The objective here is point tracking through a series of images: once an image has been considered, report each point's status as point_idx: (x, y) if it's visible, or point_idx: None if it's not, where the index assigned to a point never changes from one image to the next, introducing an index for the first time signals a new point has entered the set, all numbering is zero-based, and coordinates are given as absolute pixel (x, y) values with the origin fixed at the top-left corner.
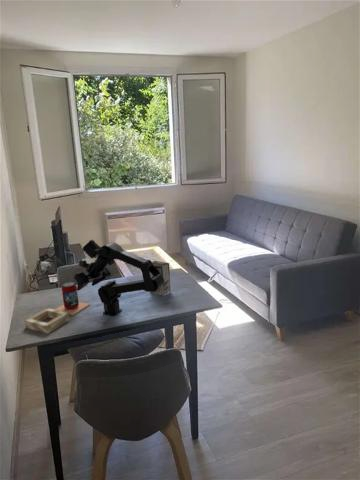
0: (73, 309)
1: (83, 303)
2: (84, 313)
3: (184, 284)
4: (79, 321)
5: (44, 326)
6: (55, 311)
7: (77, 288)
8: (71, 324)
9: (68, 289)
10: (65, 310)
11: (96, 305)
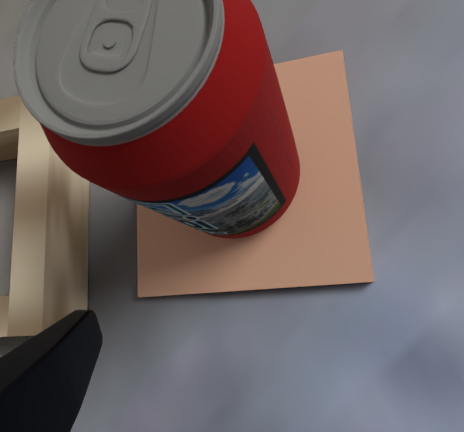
0: None
1: (351, 211)
2: (217, 361)
3: None
4: (94, 426)
5: None
6: (25, 202)
7: (55, 333)
8: None
9: (56, 150)
10: None
11: (408, 351)
